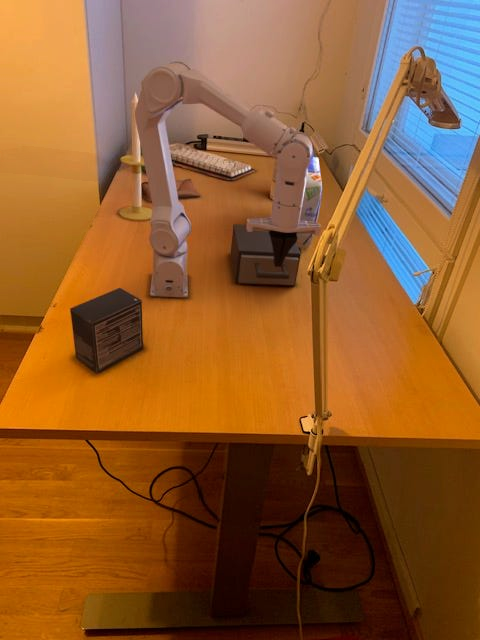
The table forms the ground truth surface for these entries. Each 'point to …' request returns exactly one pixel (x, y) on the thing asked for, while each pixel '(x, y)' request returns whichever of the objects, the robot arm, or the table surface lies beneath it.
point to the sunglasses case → (182, 186)
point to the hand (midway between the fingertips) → (277, 264)
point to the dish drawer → (267, 270)
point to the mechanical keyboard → (207, 163)
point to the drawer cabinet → (253, 248)
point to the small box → (107, 329)
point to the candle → (135, 174)
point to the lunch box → (310, 200)
